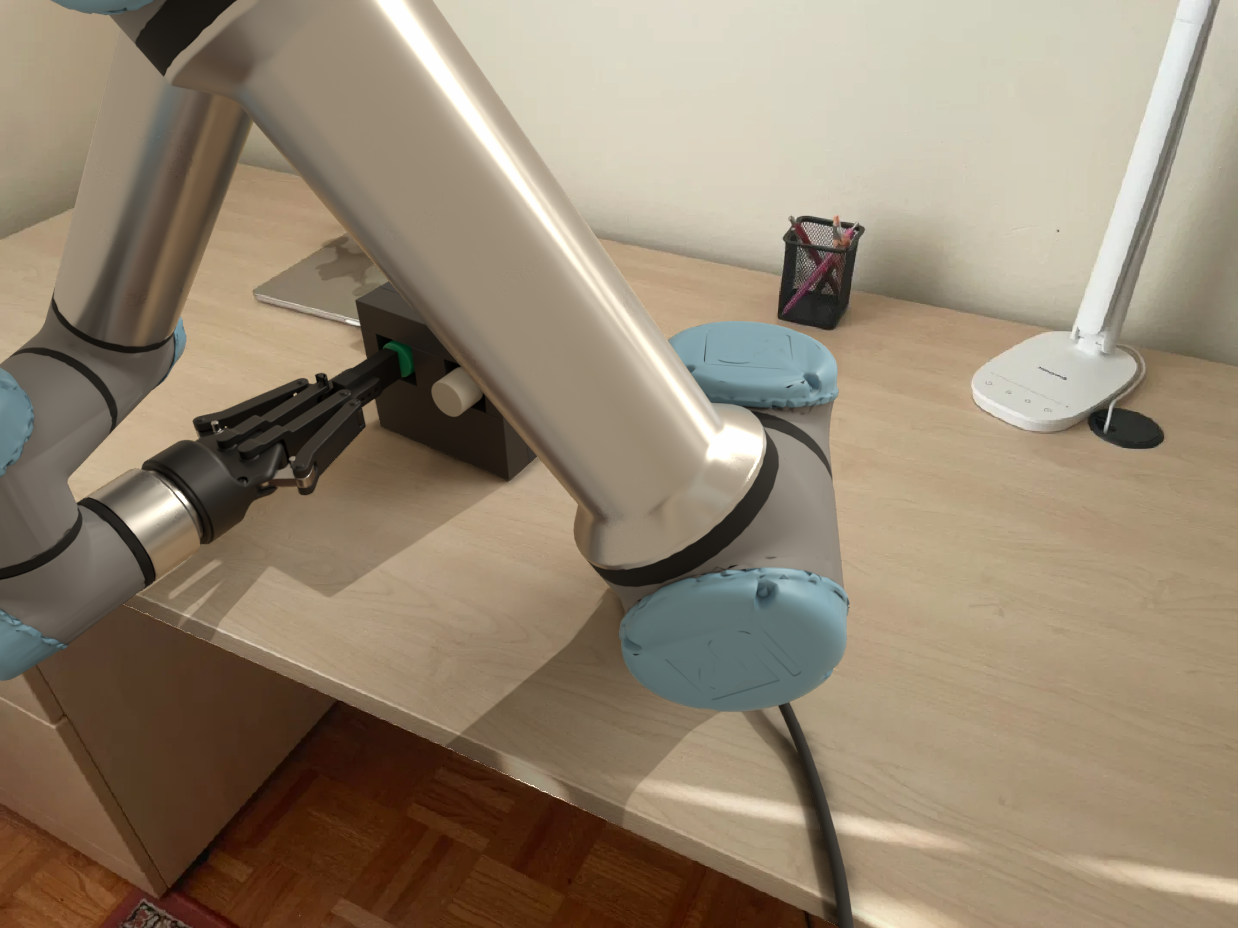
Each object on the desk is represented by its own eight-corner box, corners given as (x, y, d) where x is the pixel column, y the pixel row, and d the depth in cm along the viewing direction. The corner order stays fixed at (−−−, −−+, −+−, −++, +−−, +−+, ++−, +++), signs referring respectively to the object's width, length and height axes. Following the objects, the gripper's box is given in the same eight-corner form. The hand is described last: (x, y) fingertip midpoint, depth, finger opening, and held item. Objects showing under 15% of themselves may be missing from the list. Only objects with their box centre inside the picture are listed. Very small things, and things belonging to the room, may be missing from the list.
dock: (509, 481, 83) (496, 349, 74) (380, 426, 90) (354, 299, 81) (559, 437, 88) (552, 309, 80) (433, 388, 95) (415, 265, 86)
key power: (412, 382, 83) (406, 349, 81) (384, 371, 84) (378, 339, 82) (434, 367, 85) (429, 335, 83) (406, 357, 86) (401, 325, 84)
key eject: (464, 422, 78) (459, 389, 76) (433, 410, 79) (428, 377, 77) (485, 405, 80) (481, 373, 78) (455, 394, 81) (451, 361, 79)
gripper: (131, 514, 72) (348, 376, 87) (244, 577, 66) (453, 418, 82) (98, 438, 67) (333, 307, 83) (216, 499, 62) (444, 346, 77)
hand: (393, 362), depth 82 cm, fingers closed
